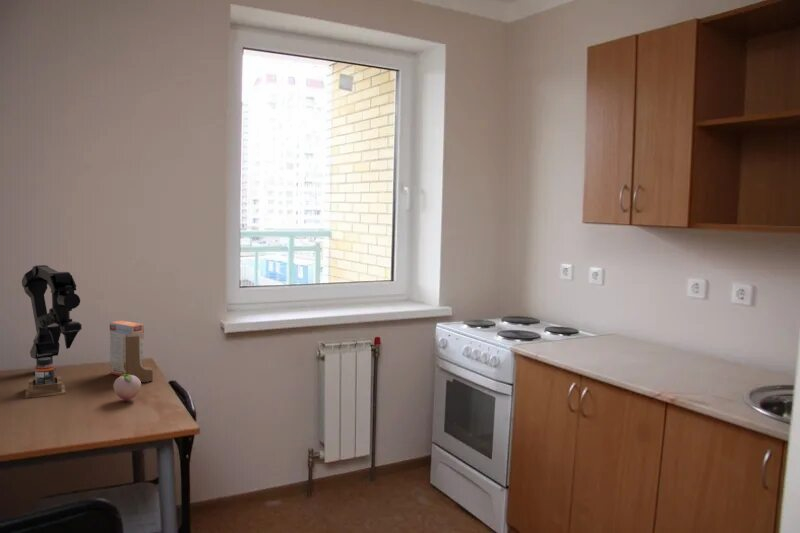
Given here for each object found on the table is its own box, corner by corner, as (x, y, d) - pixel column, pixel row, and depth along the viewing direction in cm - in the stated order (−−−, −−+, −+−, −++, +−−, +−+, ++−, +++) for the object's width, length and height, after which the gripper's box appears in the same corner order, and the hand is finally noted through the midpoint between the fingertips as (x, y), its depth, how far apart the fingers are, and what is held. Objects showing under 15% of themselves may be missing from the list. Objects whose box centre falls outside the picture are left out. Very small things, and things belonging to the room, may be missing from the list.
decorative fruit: (146, 401, 210) (145, 372, 209) (121, 406, 204) (121, 377, 203) (134, 395, 216) (133, 367, 215) (110, 400, 210) (109, 371, 209)
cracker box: (145, 376, 240) (144, 323, 238) (131, 379, 235) (130, 326, 233) (123, 370, 247) (122, 319, 246) (109, 373, 242) (108, 321, 240)
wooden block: (151, 378, 237) (151, 332, 235) (152, 381, 233) (152, 335, 232) (126, 381, 233) (125, 334, 231) (127, 384, 229) (126, 336, 227)
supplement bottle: (46, 386, 222) (46, 355, 221) (59, 388, 220) (58, 357, 219) (31, 390, 216) (30, 359, 215) (44, 392, 214) (43, 361, 213)
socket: (26, 389, 220) (25, 379, 220) (64, 384, 226) (63, 375, 226) (25, 398, 210) (25, 388, 209) (65, 393, 216) (65, 383, 215)
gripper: (26, 305, 228) (27, 346, 229) (50, 311, 217) (51, 354, 219) (57, 302, 237) (58, 341, 238) (81, 307, 226) (82, 349, 228)
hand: (61, 346), depth 231 cm, fingers open, 9 cm apart
